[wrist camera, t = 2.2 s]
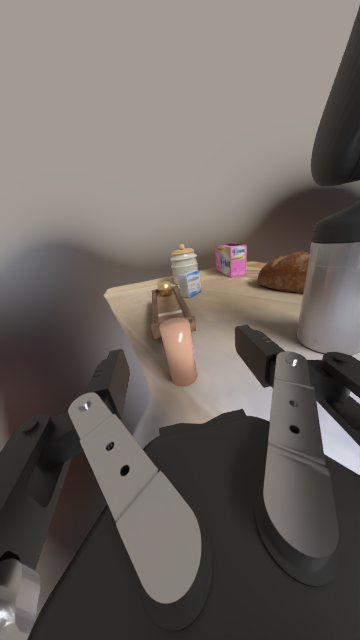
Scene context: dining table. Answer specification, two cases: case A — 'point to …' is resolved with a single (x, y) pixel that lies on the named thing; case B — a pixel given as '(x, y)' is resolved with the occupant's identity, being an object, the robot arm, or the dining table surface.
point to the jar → (183, 261)
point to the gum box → (231, 259)
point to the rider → (179, 350)
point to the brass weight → (164, 288)
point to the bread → (286, 273)
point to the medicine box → (189, 283)
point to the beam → (169, 310)
